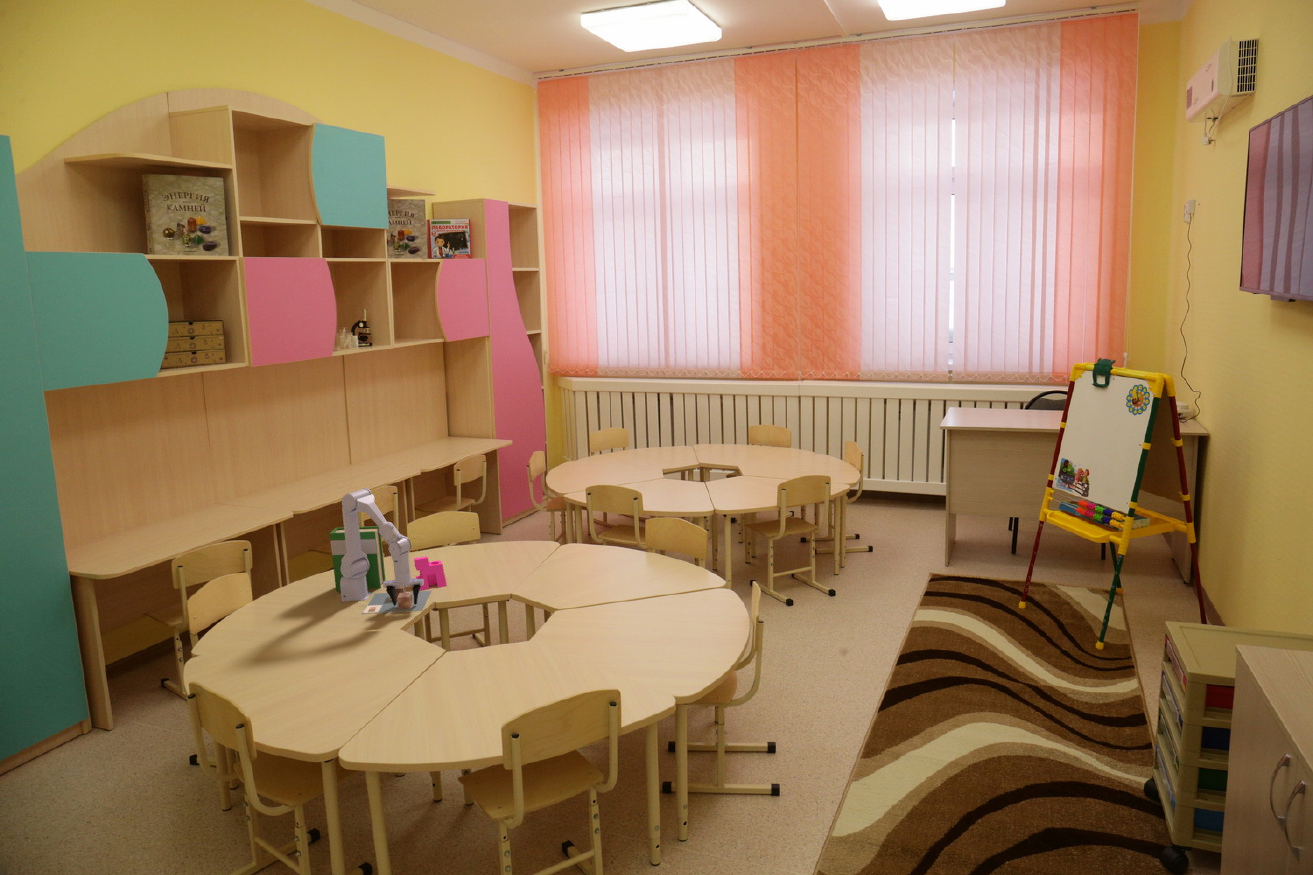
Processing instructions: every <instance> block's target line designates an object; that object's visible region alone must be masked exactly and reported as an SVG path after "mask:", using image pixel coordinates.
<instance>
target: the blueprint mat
mask: <svg viewBox="0 0 1313 875" xmlns="http://www.w3.org/2000/svg"><path fill="white" fill-rule="evenodd" d="M406 592H407V593H412V598H413V605H412V607H411V608H407V609H398V600H397V599H396V600H397V604H396V606H394V605H393V602H392V599H391V597H390V596H389V594H388V593H387V592H381V593H374V595H372V597H371V599H370V601H369V602H368V603H367V606H365V608H364V610H363V611H362V613H361V614H362V615H366V614H368V615H369V614H384V613H385V614H386V613H402V612H418V611H419V612H420V611H423V609H424V608H425V605H426V604H427V601H428V599H429V598H430V595H431V594H432V590H421V591H420V590H419V593H418V599H417V604H415V605H414V595H413V591H406Z"/></svg>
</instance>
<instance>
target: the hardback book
mask: <svg viewBox="0 0 1313 875" xmlns="http://www.w3.org/2000/svg"><path fill="white" fill-rule="evenodd" d="M359 531H360V541H361V551H362V552H364V553H366V554H367V559H368V561H369V569H368V571H367V574H366V582H367V590H368V589H381V588H382V585H383V582H384V581H387V580H386V571H385V570H386V569H385V560H384V552H383V543H382V542H383V540H382V536H381V534H380V533H379V526H378V525H376V526H359ZM329 539H330V547H331V548H330V549H331V557H332V565H333V573H334V576H333V577H334V582H335V591H336V592H341V588H340V581H341V578H342V577H343V575H342V573H341V564H342V561H341V560H342V558H343V557H344V556H345V554H346V553H347V551H346V541H345V532H344V526H343V527H335V528H334V529H333V530H331V532H329Z"/></svg>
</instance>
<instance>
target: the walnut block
mask: <svg viewBox="0 0 1313 875" xmlns="http://www.w3.org/2000/svg"><path fill="white" fill-rule="evenodd" d="M407 592H408V591H407V586H401V587H399V586H396V599H397V597H398V596H399V594H400V593H407Z"/></svg>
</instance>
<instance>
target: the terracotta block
mask: <svg viewBox="0 0 1313 875" xmlns="http://www.w3.org/2000/svg"><path fill="white" fill-rule="evenodd" d="M397 600H398V609H407V608H411V607H412V605H413V598H412V593H400V594H399V596H398V597H397Z"/></svg>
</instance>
